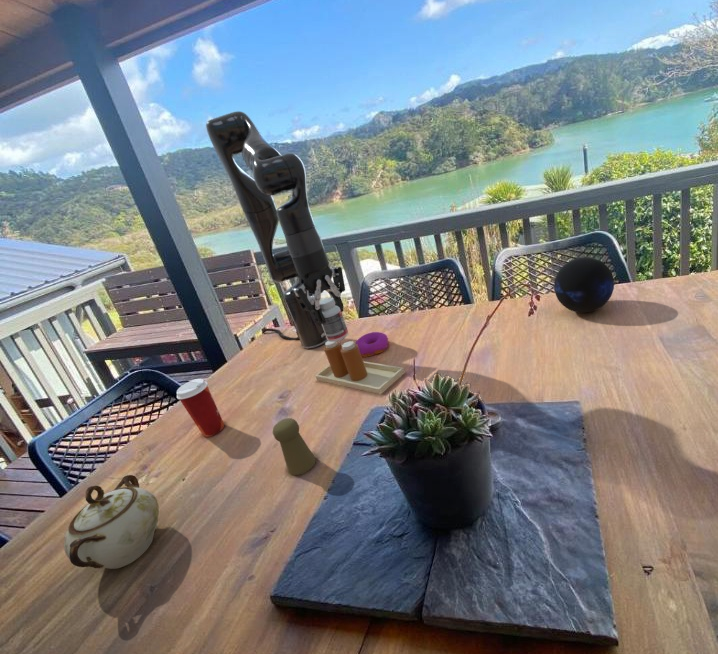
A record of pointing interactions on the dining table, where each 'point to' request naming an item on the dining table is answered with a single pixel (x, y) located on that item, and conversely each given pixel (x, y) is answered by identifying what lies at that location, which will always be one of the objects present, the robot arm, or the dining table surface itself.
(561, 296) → the decorative sphere
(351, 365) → the amber bottle middle
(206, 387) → the paper cup
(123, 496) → the sugar bowl
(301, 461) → the olive green pawn
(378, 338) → the donut
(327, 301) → the pill bottle
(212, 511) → the dining table surface
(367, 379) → the tray
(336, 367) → the amber bottle far
